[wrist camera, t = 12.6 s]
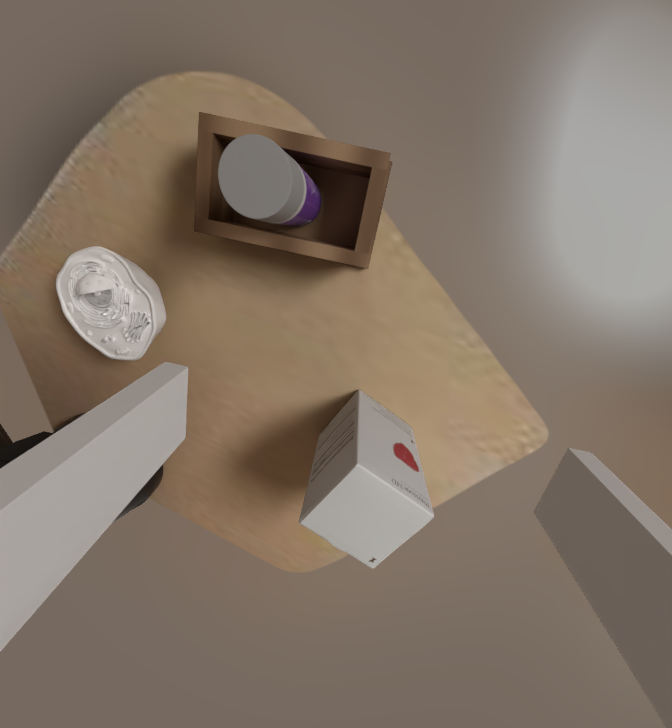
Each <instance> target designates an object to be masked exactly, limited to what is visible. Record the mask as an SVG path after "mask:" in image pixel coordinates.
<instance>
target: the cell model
mask: <svg viewBox="0 0 672 728" xmlns="http://www.w3.org/2000/svg"><path fill="white" fill-rule="evenodd" d="M56 291H57V295H58V298H59V301H60V305H61V309H62V312H63V314H64V315H65V317H66V319H67V320H68V321H69V323H70V324H71V326H72V327H73V328H74V330H75V331H76V332H77V333H78V334H79V335H80V336H81V337H82V338H83V339H84V340H85V341H86V342H87V343H88V344H90V345H91V346H93V347H94V348H95V349H97V350H98V351H100V352H101V353H102V354H104V355H105V356H107V357H109V358H111V359H117V360H137V359H140V358H141V357H142V356H143V355H144V354H145V352H146V350H147V349H148V347H149V345H150V344H151V342H152V341H153V339H154V338H155V337H156V336H157V334H158V333H159V332H160V331H161V330H162V328H163V326H164V324H165V322H166V311H165V307H164V303H163V300H162V296H161V293H160V290H159V287H158V285H157V284H156V282H155V281H154V280H153V279H152V278H151V277H150V276H149V275H148V274H147V273H146V272H145V271H143V270H142V269H141V268H140V267H139V266H137V265H136V264H135V263H133V262H131V261H130V260H128V259H126V258H124V257H123V256H121V255H119V254H117V253H114V252H112V251H110V250H108V249H105V248H103V247H99V246H92V247H88V248H85V249H82V250H79V251H77V252H75V253H73V254H71V255H70V256H69V257H68V258H67V259H66V261H65V263H64V265H63V267H62V269H61V270H60V271H59V273H58V274H57V277H56Z"/></svg>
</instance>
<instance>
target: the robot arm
mask: <svg viewBox="0 0 672 728" xmlns="http://www.w3.org/2000/svg"><path fill="white" fill-rule="evenodd" d="M187 387H188V367H187V366H182V365H178V364H173V363H168V362H164V363H162V364H161V365H159V366H158V367H156V368H155V369H153V370H152V371H150V372H149V373H147V374H145V375H144V376H142V377H141V378H139V379H138V380H136V381H135V382H133V383H132V384H130V385H129V386H127V387H125V388H124V389H122V390H121V391H119V392H118V393H116V394H115V395H113V396H112V397H110V398H108V399H107V400H105V401H104V402H102V403H101V404H99V405H98V406H96V407H95V408H93V409H92V410H90V411H88V412H87V413H84V414H80V415H78V416H75V417H74V418H72V419H70V420H69V421H67V422H66V423H64V424H63V425H61V426H60V427H59V428H57V429H56V430H55V431H54V432H53V433H49V432H42V433H39V434H36V435H33V436H30V437H27V438H25V439H22V440H19V441H16V442H14V443H13V442H12V441H11V439H10V438H9V436H8V435H7V433H6V432H5V430H4V429H3V428H2V426H1V424H0V651H1V650H2V649H3V648H4V647H5V645H6V644H7V643H8V642H9V641H10V640H11V638H12V637H13V636H14V635H15V634H16V633H17V631H19V629H20V628H21V627H22V626H23V625H24V624H25V622H26V621H27V620H28V619H29V618H30V617H31V615H32V614H33V613H34V612H35V611H36V610H37V609H38V608H39V607H40V605H41V604H42V603H43V602H44V600H45V599H46V598H47V597H48V596H49V594H51V592H52V591H53V590H54V589H55V588H56V587H57V585H58V584H59V583H60V582H61V581H62V580H63V579H64V577H65V576H66V575H67V574H68V573H69V572H70V571H71V569H72V568H73V567H74V566H75V565H76V564H77V562H78V561H79V560H80V559H81V557H83V555H84V554H85V553H86V552H87V551H88V550H89V548H90V547H91V546H92V545H93V544H94V543H95V542H96V540H97V539H98V538H99V537H100V536H101V535H102V534H103V532H104V531H105V530H106V529H107V528H108V527H109V526H110V524H111V523H113V522H114V521H116V520H117V519H119V518H120V517H122V516H123V515H125V514H126V513H128V512H129V511H130V510H132V509H134V508H136V507H137V506H139V505H141V504H142V503H144V502H145V501H146V500H147V499H148V498H149V497H150V496H151V494H152V493H153V492H154V491H155V489H156V488H157V487H158V485H159V484H160V482H161V479H162V475H163V463H164V462H165V461H166V460H167V459H168V457H169V456H170V455H171V454H172V453H173V452H174V451H175V449H176V448H177V447H178V446H179V445H180V444H181V442H182V441H183V440H184V439H185V436H186V411H187ZM534 514H535V515H536V517H537V519H538V520H539V522H540V523H541V525H542V527H543V528H544V530H545V531H546V533H547V535H548V536H549V538H550V540H551V541H552V543H553V545H554V546H555V548H556V549H557V551H558V553H559V554H560V556H561V558H562V559H563V561H564V562H565V564H566V566H567V567H568V569H569V570H570V572H571V574H572V575H573V577H574V579H575V580H576V582H577V583H578V585H579V587H580V588H581V590H582V592H583V593H584V595H585V596H586V598H587V600H588V601H589V603H590V605H591V606H592V608H593V610H594V611H595V613H596V614H597V616H598V618H599V619H600V621H601V623H602V624H603V626H604V627H605V629H606V630H607V632H608V634H609V635H610V637H611V639H612V640H613V642H614V644H615V645H616V647H617V649H618V650H619V652H620V653H621V655H622V657H623V658H624V660H625V661H626V663H627V665H628V666H629V668H630V670H631V671H632V673H633V675H634V676H635V678H636V679H637V681H638V683H639V684H640V686H641V688H642V689H643V691H644V692H645V694H646V696H647V697H648V699H649V701H650V702H651V704H652V705H653V707H654V709H655V710H656V712H657V714H658V715H659V717H660V718H661V720H662V722H663V723H664V725H665V727H666V728H672V529H671V528H670V527H668V526H667V525H666V524H665V523H664V522H663V521H662V520H661V519H660V518H659V517H658V516H657V515H656V514H655V513H654V512H653V511H652V510H651V509H650V508H649V507H647V505H645V504H644V503H643V502H642V501H641V500H640V499H639V498H638V497H637V496H636V495H635V494H634V493H633V492H632V491H631V490H630V489H629V488H627V486H625V484H624V483H622V482H621V481H620V480H619V479H618V478H617V477H616V476H615V475H614V474H613V473H612V472H611V471H610V470H609V469H608V468H607V467H606V466H605V465H604V464H603V463H602V462H600V461H599V460H598V459H597V458H596V457H595V456H594V455H593V454H592V453H590V452H586V451H581V450H576V449H572V448H568V449H567V451H566V453H565V455H564V456H563V459H562V460H561V462H560V464H559V466H558V468H557V470H556V471H555V473H554V475H553V477H552V479H551V480H550V482H549V484H548V486H547V488H546V490H545V492H544V493H543V495H542V497H541V499H540V501H539V503H538V504H537V506H536V508H535V510H534Z"/></svg>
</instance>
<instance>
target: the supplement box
mask: <svg viewBox="0 0 672 728" xmlns="http://www.w3.org/2000/svg"><path fill="white" fill-rule="evenodd" d="M433 517H434V514H433V510H432V506H431V502H430V498H429V494H428V490H427V486H426V482H425V478H424V474H423V470H422V466H421V462H420V458H419V454H418V450H417V446H416V442H415V439H414V434H413V431H412V428H411V427H410V426H409V425H408V424H406V423H405V422H403V421H402V420H401V419H399V418H398V417H397V416H395V415H394V414H392V413H391V412H390V411H388V410H387V409H386V408H384V407H383V406H381V405H380V404H379V403H377V402H376V401H375V400H373V399H372V398H370V397H369V396H368V395H366V394H365V393H363V392H362V391H361V390H358V391H357V392H356V393H355V394H354V395H353V396H352V397H351V399H350V400H349V401H348V402H347V403H346V404H345V405H344V407H343V408H342V409H341V410H340V411H339V412H338V414H337V415H336V416H335V417H334V418H333V419H332V421H331V422H330V423H329V424H328V425H327V426H326V427H325V429H324V430H323V431H322V432H321V433H320V435H319V437H318V442H317V447H316V451H315V455H314V460H313V464H312V468H311V473H310V477H309V481H308V485H307V490H306V494H305V499H304V503H303V507H302V511H301V515H300V518H299V523H300V524H301V525H303V526H305V527H306V528H308V529H309V530H311V531H313V532H314V533H316V534H317V535H319V536H321V537H322V538H324V539H326V540H327V541H328V542H330V543H331V544H332V545H333V546H334V547H336V548H338V549H340V550H342V551H344V552H346V553H348V554H350V555H351V556H353V557H354V558H356V559H357V560H359V561H361V562H362V563H364V564H365V565H367V566H368V567H370V568H372V569H374V568H375V567H376V566H377V565H378V564H379V563H380V562H382V561H383V560H384V559H385V558H386V557H387V556H388V555H390V554H391V553H392V552H393V551H394V550H396V549H397V548H398V547H399V546H400V545H401V544H403V543H404V542H405V541H406V540H407V539H409V538H410V537H411V536H413V535H414V534H415V533H416V532H418V531H419V530H420V529H421V528H422V527H424V526H425V525H426V524H427V523H428V522H429V521H430V520H431V519H432V518H433Z"/></svg>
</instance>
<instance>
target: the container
mask: <svg viewBox="0 0 672 728" xmlns="http://www.w3.org/2000/svg"><path fill="white" fill-rule="evenodd" d="M218 180H219V185H220V189H221V191H222V194H223V196H224V198H225V199H226V201H227V202H228V204H229V205H230V206H231V207H232V208H233V209H234V210H235V211H236V212H238V213H239V214H241V215H243V216H245V217H248V218H252V219H256V220H260V221H265V222H269V223H274V224H282V225H291V226H305V225H308V224H310V223H311V222H313V221H314V220H315V219H316V217H317V216H318V214H319V212H320V209H321V204H322V199H321V193H320V191H319V188H318V187H317V185H316V184H315V182H314V181H313V180H312V179H311V178H310V177H309V176H308V174H307V173H306V172H305V171H304V170H303V169H302V168H301V167H300V165H299V164H298V163H297V162H296V161H295V160H294V159H293V158H292V157H290V156H289V155H288V154H287V153H286V152H285V151H284V150H283V149H282V148H281V147H279V146H278V145H277V144H276V143H275V142H274V141H272V140H271V139H269V138H267V137H265V136H262V135H258V134H247V135H243V136H240V137H238V138H236V139H234V140H233V141H232V142H231V143H230V144H229V145H228V146H227V147H226V148H225V150H224V152H223V153H222V156H221V158H220V162H219V167H218Z"/></svg>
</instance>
